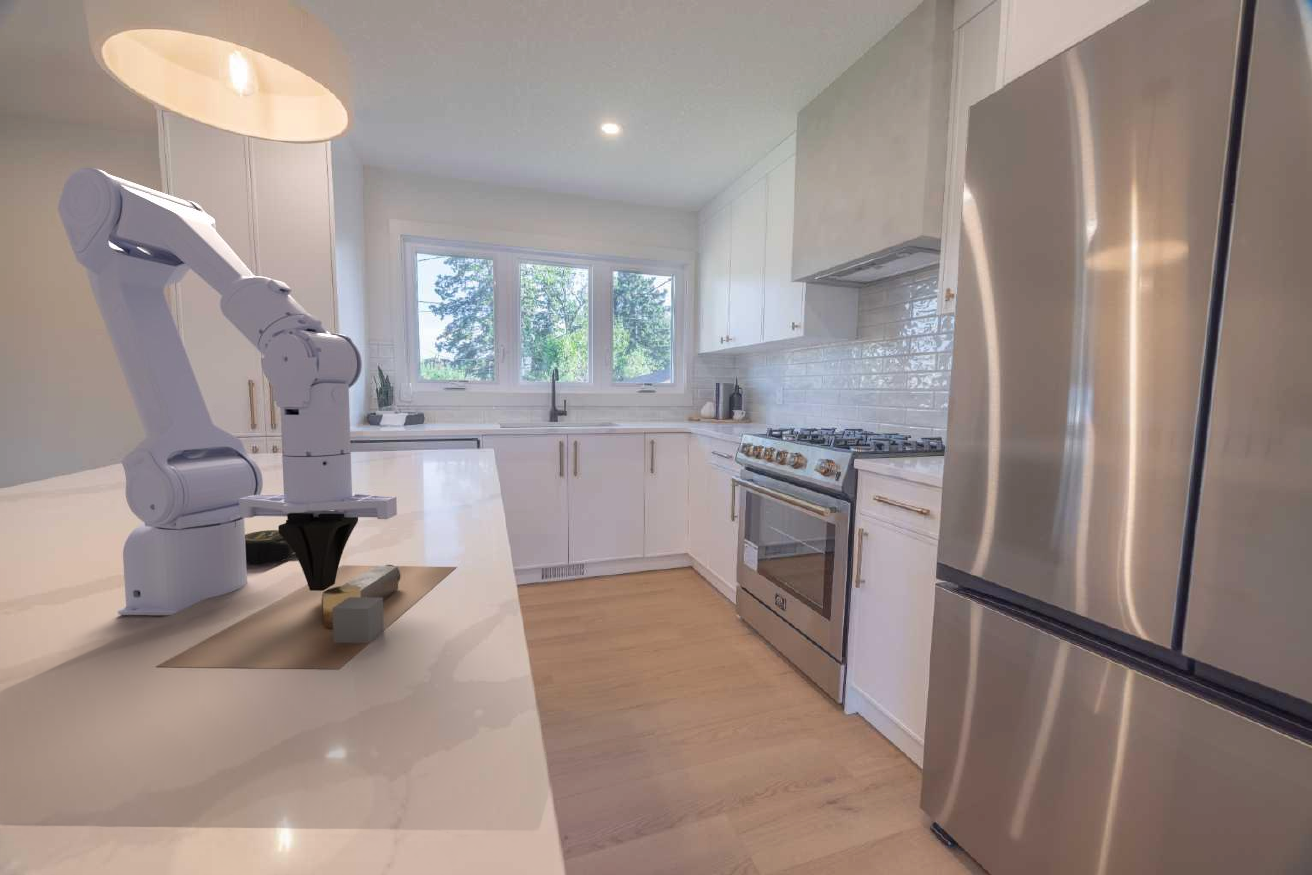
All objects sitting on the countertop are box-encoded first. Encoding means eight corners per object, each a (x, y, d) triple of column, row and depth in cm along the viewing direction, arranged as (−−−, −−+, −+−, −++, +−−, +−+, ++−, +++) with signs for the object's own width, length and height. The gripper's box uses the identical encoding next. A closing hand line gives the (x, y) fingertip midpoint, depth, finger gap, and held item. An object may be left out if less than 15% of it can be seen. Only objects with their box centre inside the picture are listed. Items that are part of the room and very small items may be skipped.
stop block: (333, 642, 44) (332, 608, 44) (350, 629, 46) (349, 597, 46) (368, 642, 44) (368, 608, 44) (383, 630, 46) (382, 597, 46)
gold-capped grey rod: (349, 628, 46) (348, 597, 46) (315, 627, 46) (314, 597, 46) (403, 586, 56) (403, 561, 56) (375, 586, 56) (375, 561, 56)
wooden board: (156, 685, 40) (155, 666, 40) (342, 577, 64) (342, 565, 64) (339, 687, 40) (339, 668, 40) (457, 578, 64) (457, 566, 64)
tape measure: (288, 567, 67) (287, 539, 67) (225, 572, 65) (223, 543, 65) (306, 552, 74) (305, 526, 74) (249, 556, 72) (248, 529, 72)
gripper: (209, 457, 47) (217, 601, 49) (368, 459, 48) (372, 603, 49) (267, 449, 55) (272, 575, 56) (405, 451, 55) (408, 577, 56)
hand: (322, 587), depth 53 cm, fingers closed
